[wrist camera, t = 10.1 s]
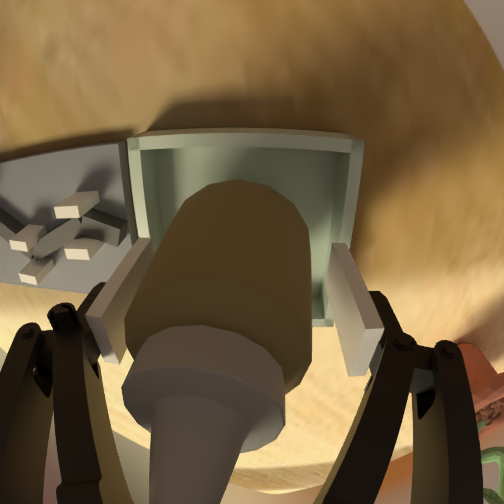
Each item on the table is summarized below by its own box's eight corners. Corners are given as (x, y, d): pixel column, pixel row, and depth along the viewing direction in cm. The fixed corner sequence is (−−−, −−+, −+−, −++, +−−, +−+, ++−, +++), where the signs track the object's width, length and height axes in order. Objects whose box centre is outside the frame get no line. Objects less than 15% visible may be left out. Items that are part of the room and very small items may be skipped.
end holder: (145, 131, 18) (127, 138, 15) (350, 134, 17) (364, 141, 15) (165, 295, 24) (155, 320, 21) (326, 301, 24) (332, 326, 21)
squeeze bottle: (281, 148, 18) (349, 476, 2) (319, 260, 21) (376, 545, 5) (165, 193, 19) (-43, 422, 3) (213, 292, 23) (145, 544, 6)
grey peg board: (-26, 168, 18) (-54, 183, 15) (126, 140, 18) (97, 152, 14) (4, 275, 24) (-16, 297, 21) (148, 289, 24) (132, 322, 20)
